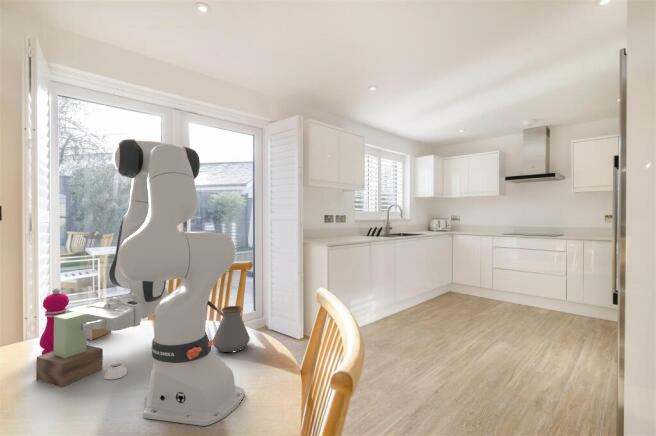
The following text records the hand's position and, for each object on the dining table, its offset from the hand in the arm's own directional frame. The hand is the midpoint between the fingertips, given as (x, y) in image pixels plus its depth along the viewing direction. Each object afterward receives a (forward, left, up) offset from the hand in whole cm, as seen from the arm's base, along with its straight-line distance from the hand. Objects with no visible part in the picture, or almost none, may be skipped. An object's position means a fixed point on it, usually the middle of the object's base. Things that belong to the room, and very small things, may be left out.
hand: (70, 325), depth 86 cm
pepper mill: (+16, -6, -13) cm, 22 cm away
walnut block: (0, 0, -13) cm, 13 cm away
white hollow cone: (-11, -4, -13) cm, 18 cm away
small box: (+21, -21, -13) cm, 33 cm away
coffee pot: (-24, -31, -13) cm, 41 cm away
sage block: (0, 0, -7) cm, 7 cm away
